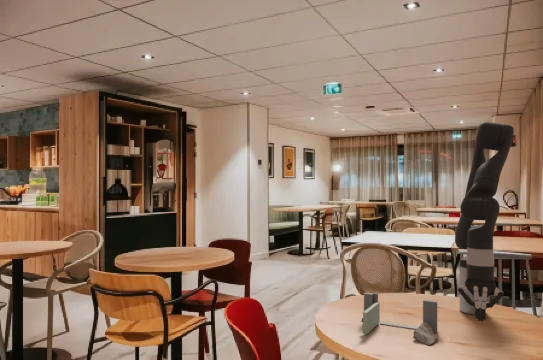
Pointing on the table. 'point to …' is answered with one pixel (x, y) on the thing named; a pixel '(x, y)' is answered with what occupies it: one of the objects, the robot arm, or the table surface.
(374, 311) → the door
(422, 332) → the stone
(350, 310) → the table surface
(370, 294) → the door frame
